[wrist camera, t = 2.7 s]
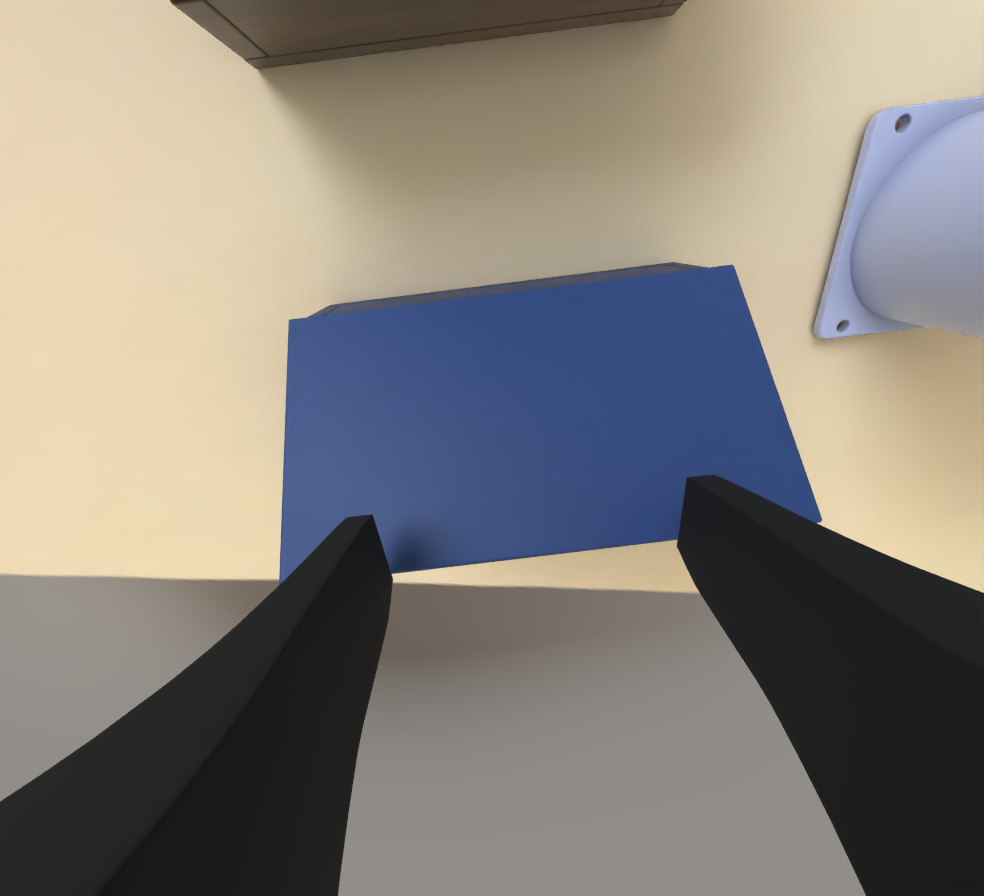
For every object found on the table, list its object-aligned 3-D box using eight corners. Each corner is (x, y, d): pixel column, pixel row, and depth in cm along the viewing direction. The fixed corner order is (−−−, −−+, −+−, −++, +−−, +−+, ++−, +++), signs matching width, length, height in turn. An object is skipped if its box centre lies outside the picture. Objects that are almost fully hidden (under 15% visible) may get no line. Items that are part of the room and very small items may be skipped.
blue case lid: (807, 524, 11) (824, 521, 10) (289, 586, 11) (277, 587, 10) (724, 276, 13) (734, 263, 13) (297, 329, 13) (288, 319, 13)
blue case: (658, 430, 20) (693, 468, 17) (375, 465, 20) (358, 508, 17) (674, 262, 16) (723, 269, 13) (329, 304, 17) (296, 322, 13)
